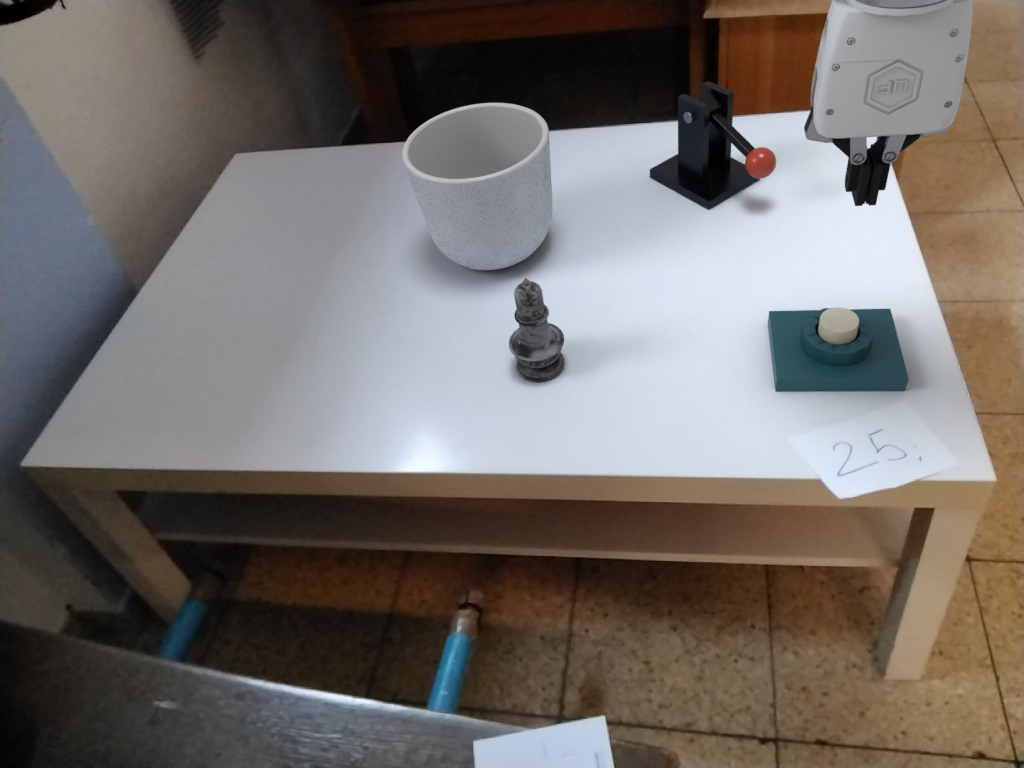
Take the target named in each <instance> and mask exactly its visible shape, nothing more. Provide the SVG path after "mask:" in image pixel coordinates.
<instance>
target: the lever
mask: <svg viewBox="0 0 1024 768" xmlns="http://www.w3.org/2000/svg"><path fill="white" fill-rule="evenodd" d="M693 98H694V99H697V100H699V101H701V102H703V103H706V104H708V105H710V109H709V123H710V122H711V123H712V124H713V125H714V126H715V127H716V128H717V129H718V130H719V131H720V132H721V133H722V134H723V135H724V136H725V137H726V138H727V139H728V140H729V141H730V142H731V145H733V146H734V147H735V148H736V149H737V150H738V151H739V152H740V153H741V155H743V157H745V160H744V164H745V168H746V171H747V172H748V174H749V175H750V176H752V177H754V178H759V180H761V179H766V178H767V177H769V176H771V174H773V173H774V171H775V170H776V167H777V156H776V155H775V152H774V151H772V150H771V149H770V148H768V147H765V146H762V147H761V146H759V147H754V145H752V144H751V143H750V142H749V140H747V139H746V138H745V137H744V136H743V135H742V134H741V133H740V132H739V131H738V130H737V129H736V128H735V127H734V126H733V124H732V125H731V124H730V123H729V122H728V121H727V120H726V119H725V118H724V117H723V116H722V115H721V114H720V113H719V111H720V109H721V107H722V104H721V103H720V102H719V101H718V100H717V99H716V98H715V97H714V96H713V95H712V94H711V93H710V92H709V91H708V90H707V91H705V92H703V93H702V92H701V93H699V94H698V95H695V96H694V97H693Z"/></svg>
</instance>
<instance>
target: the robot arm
mask: <svg viewBox="0 0 1024 768" xmlns="http://www.w3.org/2000/svg"><path fill="white" fill-rule="evenodd" d="M973 8H974V0H831V3H830V6H829V9H828V12H827V15H826V19H825V22H824V26H823V30H822V32H821V33H822V34H821V38H820V43H819V46H818V51H817V55H816V60H815V64H814V70H813V74H812V81H811V88H810V106H811V108H810V111H809V113H808V116H807V118H806V120H805V121H806V122H805V123H804V126H803V130H804V135H805V138H806V140H808V141H812V142H818V143H825V144H829V143H830V144H833V145H834V146H835V147H836V148H838V149H839V150H840V151H841V152H842V153H843V154H844V155H845V156H846V157H847V158H848V159H847V164H846V169H845V170H846V171H845V177H844V189H845V192H846V193H851V195H852V200H853V203H854V206H855V207H863V205H865V204H866V205H868V206H876V205H877V201H878V198H879V197H878V196H879V192H880V191H885V190H886V189H887V188H886V187H887V183H888V179H889V173H890V168H891V164H892V163H894V162H895V161H897V160H898V158H899V156H900V153H901V152H903V151H904V150H906V149H907V148H909V146H911V145H912V144H914V143H915V142H916V141H918V140H919V139H920V138H927V137H930V136H934V135H939V134H942V133H945V132H947V131H948V130H950V128H951V125H952V124H953V123H954V121H955V118H956V117H957V113H958V110H959V107H960V102H961V97H962V92H963V86H964V81H965V75H966V70H967V69H966V68H967V63H968V58H969V57H968V55H969V49H970V43H971V42H970V41H971V34H972V24H973V10H974V9H973ZM867 138H876V140H875V142H874V143H871V144H870V147H868V146H867V145H868V143H867V142H868V141H867Z"/></svg>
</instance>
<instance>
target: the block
mask: <svg viewBox="0 0 1024 768" xmlns="http://www.w3.org/2000/svg"><path fill="white" fill-rule="evenodd" d="M830 308H831V307H823V308H821V309H809V310H808V309H805V310H804V309H803V310H799V309H798V310H769V311H768V315H767V317H768V318H767V327H768V336H769V347H770V354H771V362H772V371H773V381H774V389H775V392H900V391H901V392H903V391H904V392H905V391H907V387H908V383H909V380H910V378H909V375H908V371H907V367H906V363H905V359H904V356H903V351H902V348H901V343H900V340H899V336H898V332H897V329H896V325H895V321H894V317H893V313H892V309H891V308H853V309H851V308H850V309H849V310H851V311H853V312H854V313H855V314H856V315H857V316H858V318H859V326H858V331H857V335H856V338H855V339H854V340H853V341H852V342H850V343H847V344H843V345H835V344H831V343H828V342H826V341H824V340H823V339H822V338H821V337H820V336H819V333H818V327H819V321H820V316H821V314H822V313H823V312H824V311H826V310H827V309H830Z"/></svg>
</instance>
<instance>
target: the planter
mask: <svg viewBox="0 0 1024 768" xmlns="http://www.w3.org/2000/svg"><path fill="white" fill-rule="evenodd" d="M550 147H551V146H550V129H549V126H548V123H547V121H546V120H545V119H544V118H543V117H542V116H541V115H540V114H539V113H538V112H536V111H535V110H533V109H532V108H528V107H525V106H523V105H519V104H515V103H507V102H484V103H483V102H482V103H474V104H469V105H464V106H459V107H456V108H453V109H450V110H447V111H444V112H442V113H440V114H437V115H436V116H434V117H432V118H430V119H428V120H427V121H425V122H423V123H422V124H421V125H419V126H418V127H417V128H415V130H413V132H412V133H410V135H409V136H408V138H407V139H406V141H405V142H404V145H403V147H402V151H401V158H402V162H403V164H404V167H405V170H406V173H407V176H408V179H409V182H410V184H411V187H412V189H413V192H414V194H415V198H416V200H417V203H418V206H419V209H420V212H421V215H422V217H423V220H424V222H425V225H426V228H427V230H428V233H429V236H430V238H431V239H432V241H433V243H434V244H435V246H436V247H437V248H438V250H439V251H440V252H441V253H442V254H443V255H444V256H446V258H448V260H450V261H451V262H454V263H456V264H457V265H460V266H462V267H465V268H467V269H470V270H476V271H495V270H501V269H505V268H509V267H512V266H514V265H516V264H519V263H521V262H523V261H524V260H526V259H527V258H529V257H530V256H531V255H532V254H533V253H534V252H535V251H537V249H538V248H539V247H540V246H541V245H542V243H543V242H544V240H545V238H546V236H547V234H548V232H549V229H550V226H551V222H552V217H553V216H552V215H553V188H552V187H553V186H552V185H553V184H552V167H551V148H550Z"/></svg>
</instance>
